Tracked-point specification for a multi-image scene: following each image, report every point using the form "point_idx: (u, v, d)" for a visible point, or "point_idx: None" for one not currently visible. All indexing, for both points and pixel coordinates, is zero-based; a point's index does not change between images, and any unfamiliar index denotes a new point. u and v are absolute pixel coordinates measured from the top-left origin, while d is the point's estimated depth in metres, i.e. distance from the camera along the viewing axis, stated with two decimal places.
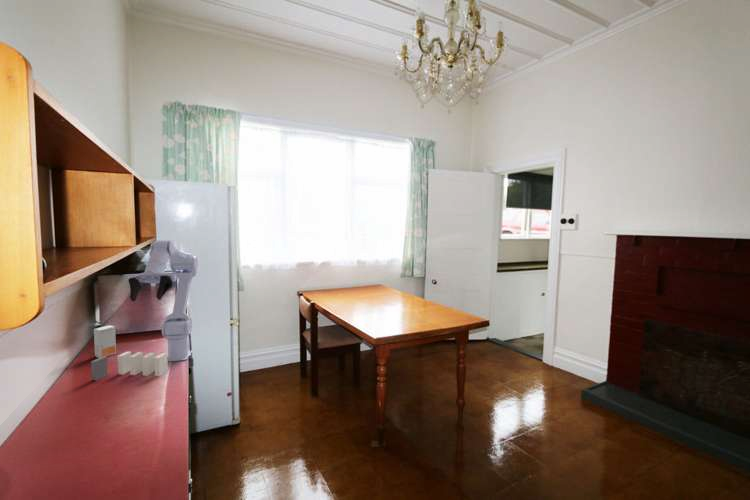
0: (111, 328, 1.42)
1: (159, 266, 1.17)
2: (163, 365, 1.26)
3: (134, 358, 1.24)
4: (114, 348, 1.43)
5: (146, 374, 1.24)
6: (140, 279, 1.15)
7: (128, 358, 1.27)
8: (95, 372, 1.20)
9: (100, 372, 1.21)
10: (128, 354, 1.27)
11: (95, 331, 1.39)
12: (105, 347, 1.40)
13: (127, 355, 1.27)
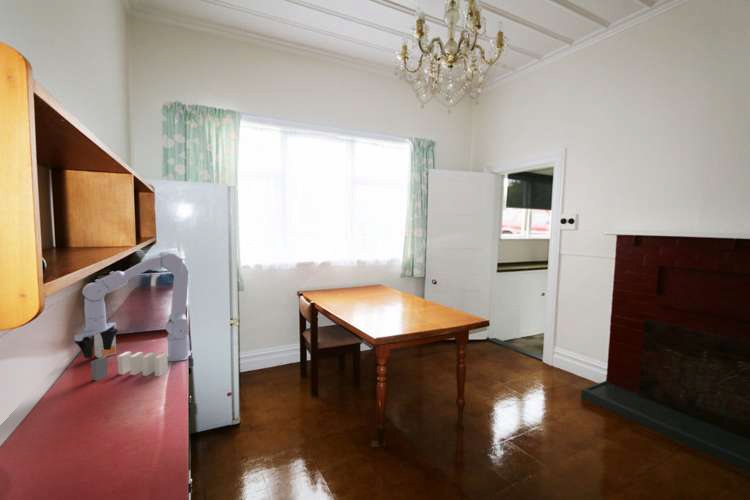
0: None
1: None
2: (163, 365, 1.26)
3: (134, 358, 1.24)
4: (114, 348, 1.43)
5: (146, 374, 1.24)
6: None
7: (128, 358, 1.27)
8: (95, 372, 1.20)
9: (100, 372, 1.21)
10: (128, 354, 1.27)
11: None
12: None
13: (127, 355, 1.27)
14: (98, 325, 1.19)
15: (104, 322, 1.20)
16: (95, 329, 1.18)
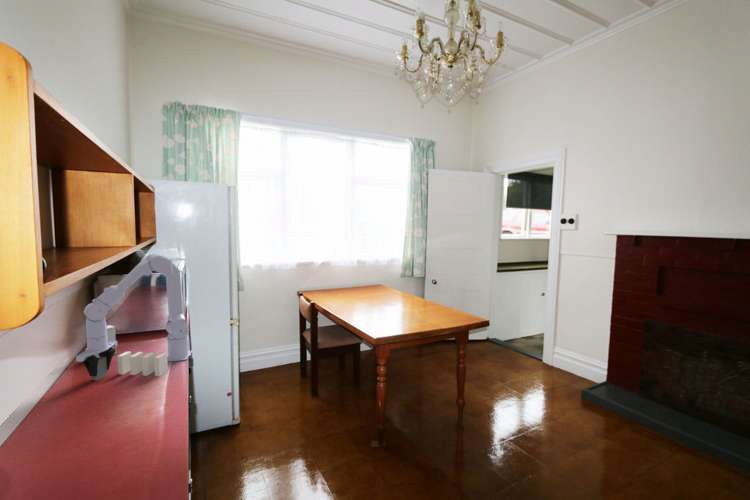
0: (111, 328, 1.42)
1: (87, 342, 1.19)
2: (163, 365, 1.26)
3: (134, 358, 1.24)
4: (114, 348, 1.43)
5: (146, 374, 1.24)
6: None
7: (128, 358, 1.27)
8: None
9: (100, 372, 1.21)
10: (128, 354, 1.27)
11: None
12: None
13: (127, 355, 1.27)
14: (99, 344, 1.19)
15: (105, 341, 1.21)
16: (96, 349, 1.19)
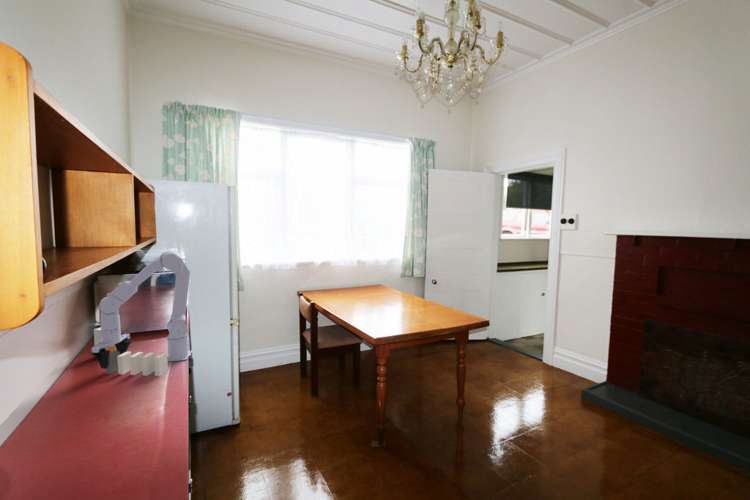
0: None
1: (101, 334, 1.24)
2: (163, 365, 1.26)
3: (134, 358, 1.24)
4: (114, 348, 1.43)
5: (146, 374, 1.24)
6: None
7: (128, 358, 1.27)
8: (109, 365, 1.25)
9: (114, 366, 1.27)
10: (128, 354, 1.27)
11: (95, 331, 1.39)
12: None
13: (127, 355, 1.27)
14: (113, 336, 1.24)
15: (119, 333, 1.26)
16: (111, 341, 1.24)
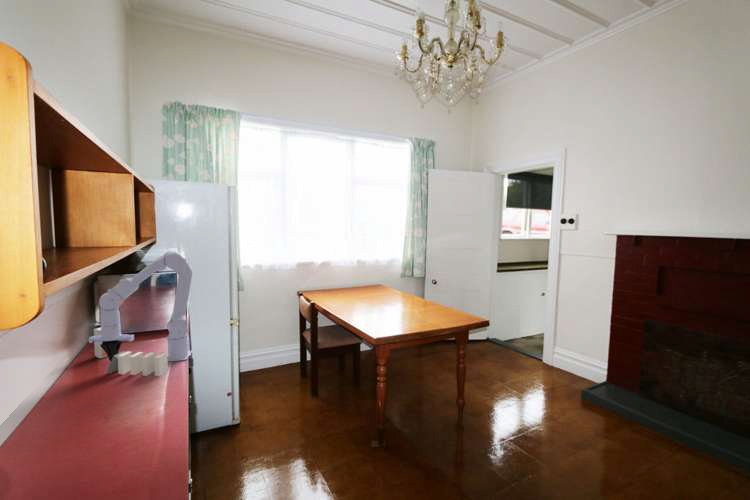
0: None
1: None
2: (163, 365, 1.26)
3: (134, 358, 1.24)
4: None
5: (146, 374, 1.24)
6: None
7: (128, 358, 1.27)
8: (113, 366, 1.25)
9: (116, 366, 1.27)
10: (128, 354, 1.27)
11: (95, 331, 1.39)
12: None
13: (127, 355, 1.27)
14: (102, 333, 1.24)
15: (107, 332, 1.23)
16: (101, 336, 1.24)
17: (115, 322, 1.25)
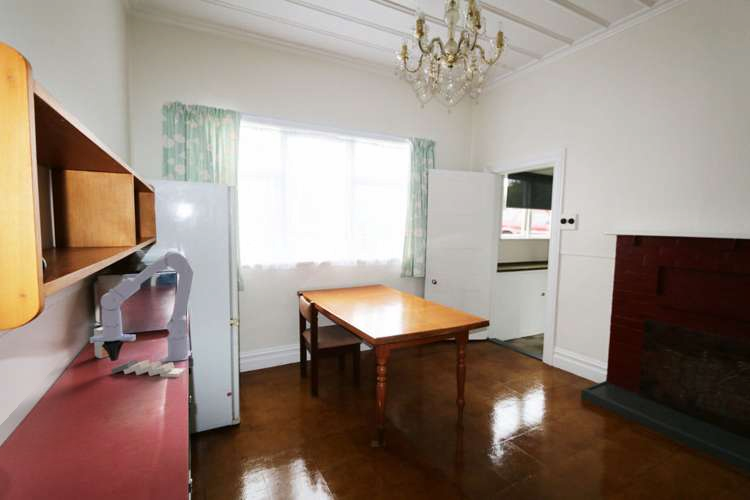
0: None
1: None
2: None
3: None
4: None
5: (150, 374, 1.24)
6: None
7: None
8: (119, 370, 1.25)
9: None
10: None
11: (95, 331, 1.39)
12: None
13: (144, 366, 1.27)
14: (103, 333, 1.23)
15: (108, 332, 1.23)
16: (103, 336, 1.24)
17: (117, 322, 1.25)
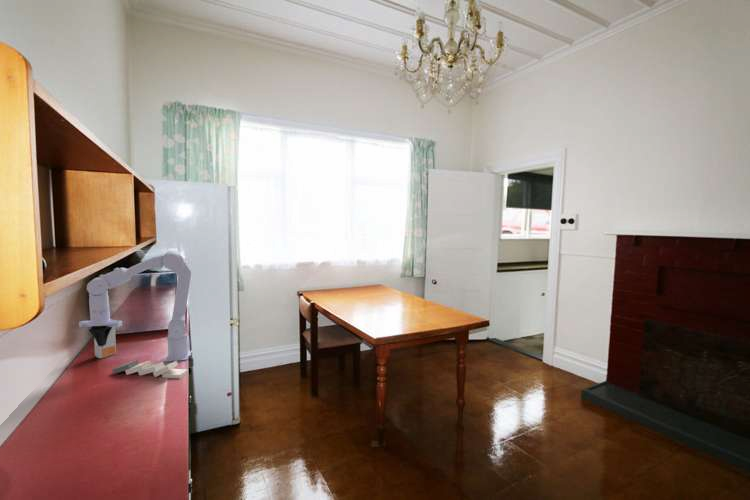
0: None
1: None
2: None
3: (154, 371, 1.23)
4: (114, 348, 1.43)
5: (155, 375, 1.23)
6: None
7: None
8: (120, 370, 1.25)
9: None
10: (147, 366, 1.27)
11: None
12: (105, 347, 1.40)
13: None
14: (90, 318, 1.24)
15: (94, 317, 1.23)
16: (90, 321, 1.24)
17: (103, 307, 1.24)
